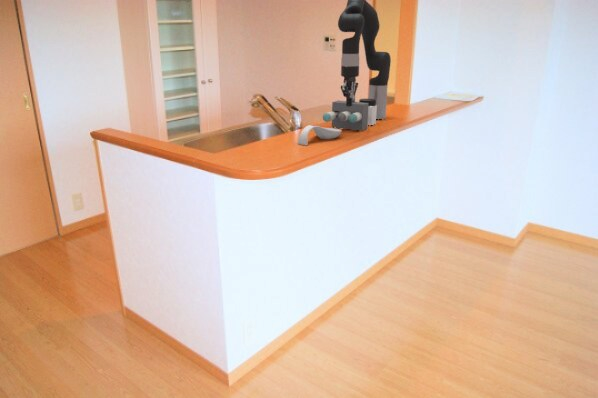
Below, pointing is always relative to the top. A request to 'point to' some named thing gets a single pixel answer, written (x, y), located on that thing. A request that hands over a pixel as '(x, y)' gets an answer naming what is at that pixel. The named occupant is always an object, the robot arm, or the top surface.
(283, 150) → the top surface
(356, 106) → the panel
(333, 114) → the knob left
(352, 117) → the knob right
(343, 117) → the knob mid
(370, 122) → the jar
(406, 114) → the top surface
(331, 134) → the spoon rest
